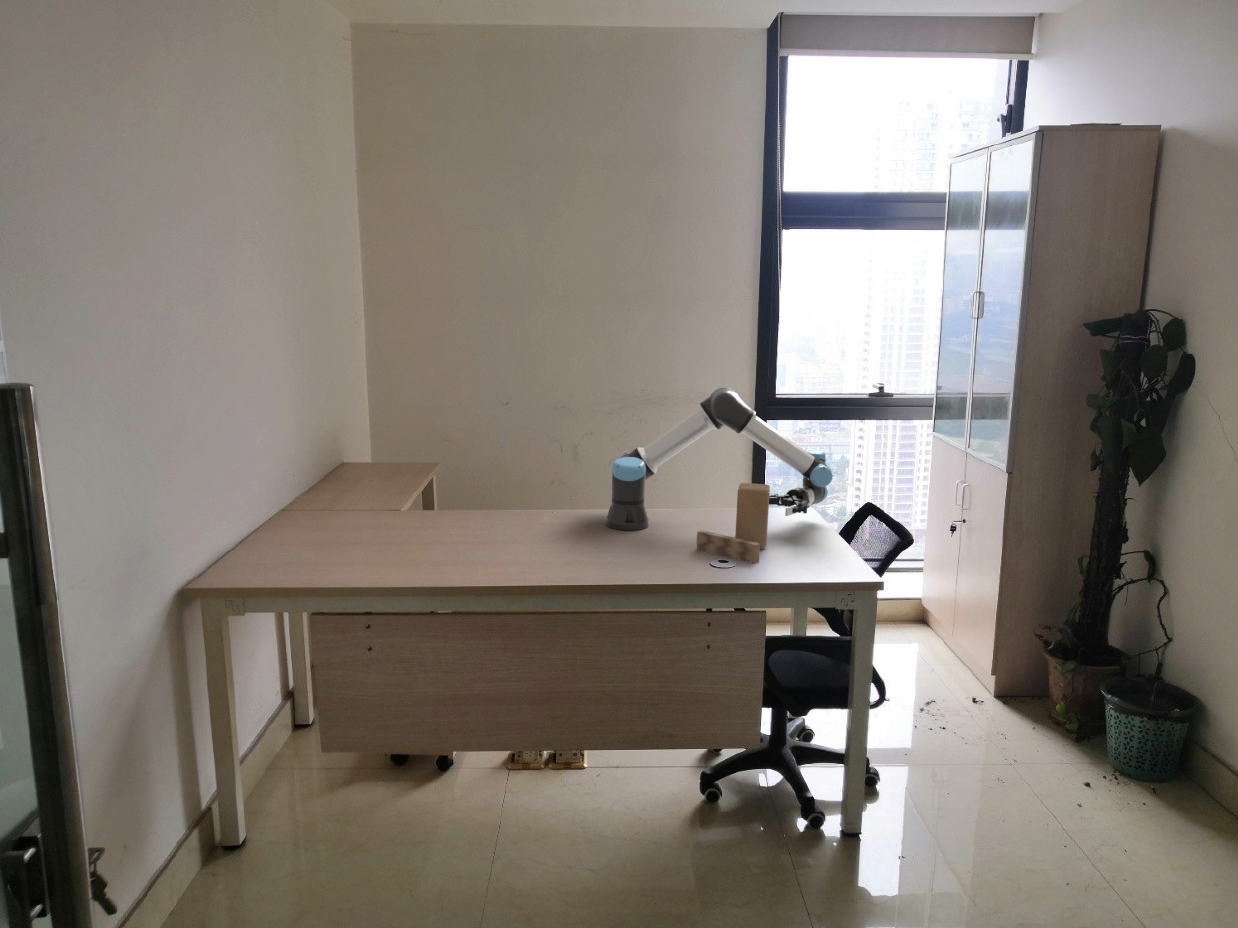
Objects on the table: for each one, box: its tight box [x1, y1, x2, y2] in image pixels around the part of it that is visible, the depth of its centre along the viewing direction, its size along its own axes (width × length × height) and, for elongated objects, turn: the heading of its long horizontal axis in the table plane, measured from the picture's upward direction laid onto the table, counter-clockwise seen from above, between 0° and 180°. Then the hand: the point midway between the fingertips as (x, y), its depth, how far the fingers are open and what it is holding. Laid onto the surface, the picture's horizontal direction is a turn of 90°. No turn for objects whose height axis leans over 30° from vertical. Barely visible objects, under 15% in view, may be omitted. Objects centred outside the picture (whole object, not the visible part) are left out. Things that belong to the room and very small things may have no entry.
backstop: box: [696, 529, 761, 565], centre depth 284 cm, size 22×2×6 cm, turn 50°
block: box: [734, 482, 771, 550], centre depth 295 cm, size 10×10×20 cm
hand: (768, 508), depth 302 cm, fingers open, 13 cm apart
